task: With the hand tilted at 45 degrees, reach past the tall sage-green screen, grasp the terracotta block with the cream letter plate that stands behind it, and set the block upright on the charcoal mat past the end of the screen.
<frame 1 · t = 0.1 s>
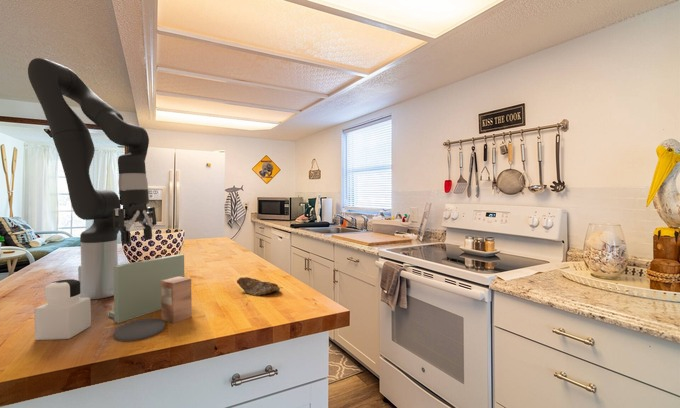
hand: (137, 241, 98), 17 cm above the counter, tool pointing down, fingers open, 8 cm apart
mat: (140, 331, 74), on the counter
decorative stone: (260, 292, 105), on the counter
screen: (152, 310, 87), on the counter
white stepped block: (64, 333, 73), on the counter
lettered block: (176, 318, 82), on the counter
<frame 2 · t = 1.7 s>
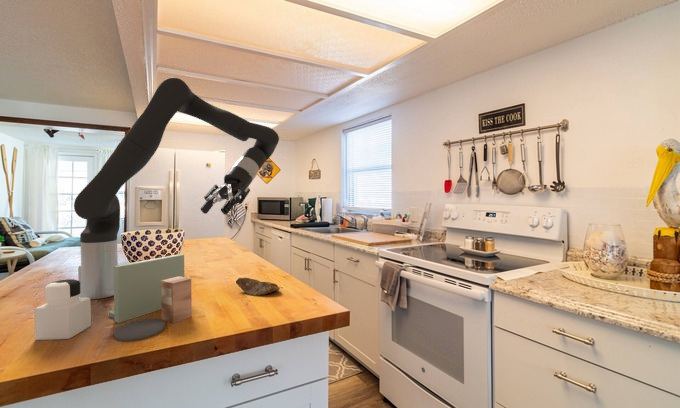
hand: (212, 212, 91), 27 cm above the counter, tool tilted 45°, fingers open, 8 cm apart
nothing on the counter moved.
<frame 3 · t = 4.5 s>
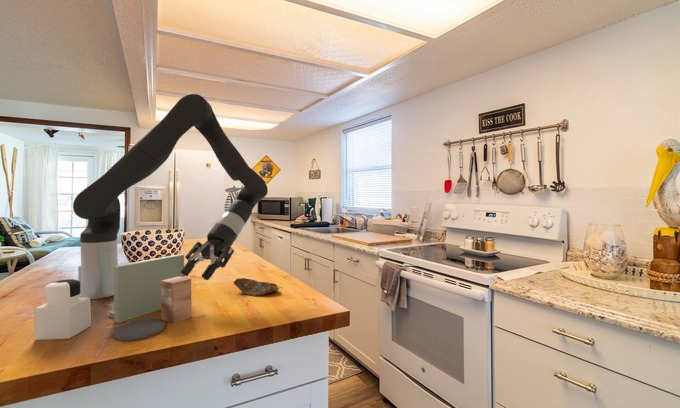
hand: (193, 276, 86), 10 cm above the counter, tool tilted 45°, fingers open, 8 cm apart
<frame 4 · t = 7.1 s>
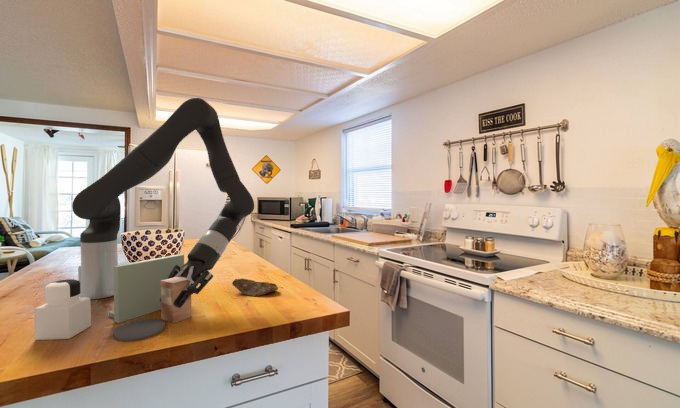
hand: (169, 304, 80), 4 cm above the counter, tool tilted 45°, fingers closed on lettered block, 5 cm apart
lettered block: (176, 317, 82), on the counter, touching gripper
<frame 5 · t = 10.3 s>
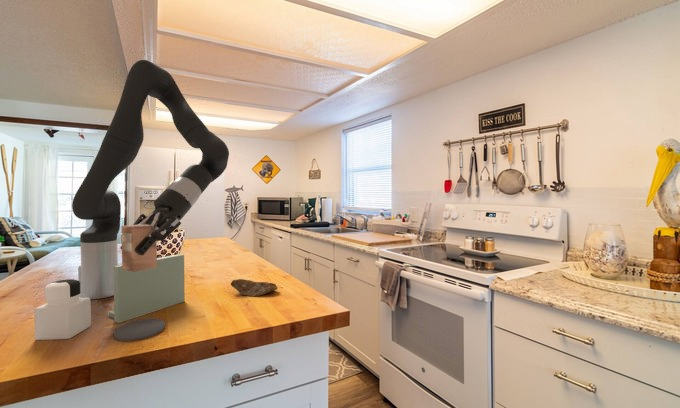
hand: (131, 251, 72), 19 cm above the counter, tool tilted 45°, fingers closed on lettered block, 5 cm apart
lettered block: (139, 268, 74), point 15 cm above the counter, touching gripper
when the fingers open (7 cm above the counter, at t = 13.4 s): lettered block drops 1 cm, resting on mat.
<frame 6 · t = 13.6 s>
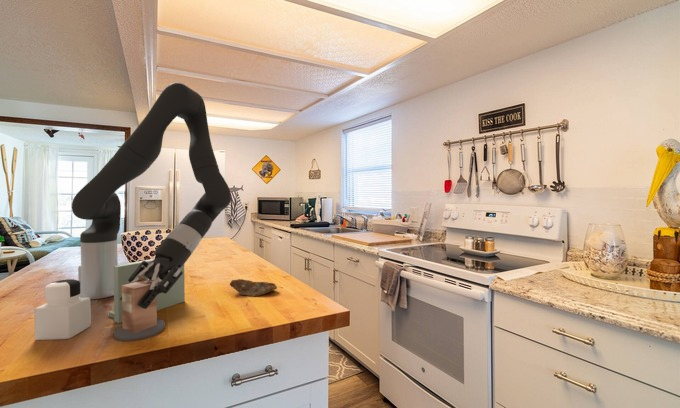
hand: (132, 304, 72), 7 cm above the counter, tool tilted 45°, fingers open, 6 cm apart
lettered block: (139, 326, 74), point 1 cm above the counter, touching mat
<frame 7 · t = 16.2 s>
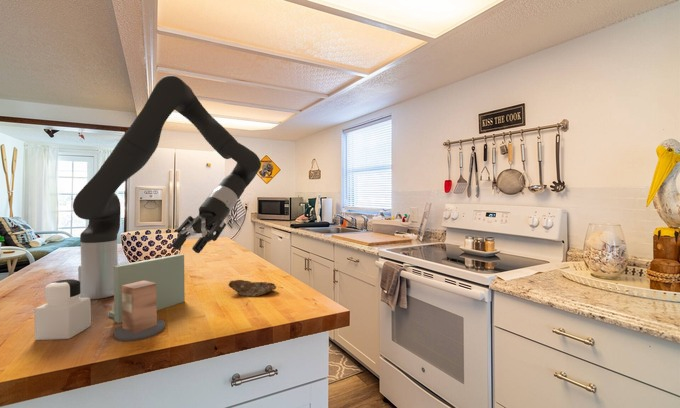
hand: (184, 249, 84), 17 cm above the counter, tool tilted 45°, fingers open, 8 cm apart
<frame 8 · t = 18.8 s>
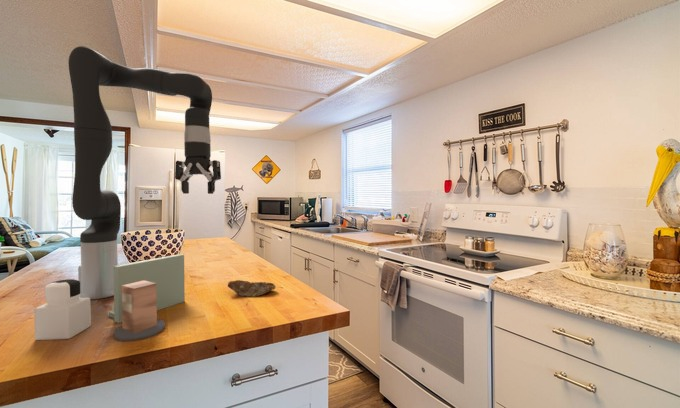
hand: (198, 193, 101), 32 cm above the counter, tool pointing down, fingers open, 8 cm apart
at the end: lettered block 0.2 cm off-centre on the mat, point 1.0 cm above the mat's base; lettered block tilted 0°; the gripper is holding nothing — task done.
